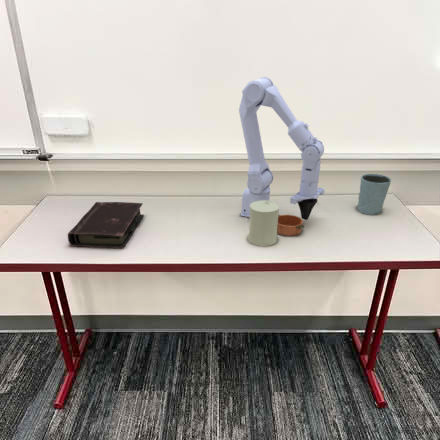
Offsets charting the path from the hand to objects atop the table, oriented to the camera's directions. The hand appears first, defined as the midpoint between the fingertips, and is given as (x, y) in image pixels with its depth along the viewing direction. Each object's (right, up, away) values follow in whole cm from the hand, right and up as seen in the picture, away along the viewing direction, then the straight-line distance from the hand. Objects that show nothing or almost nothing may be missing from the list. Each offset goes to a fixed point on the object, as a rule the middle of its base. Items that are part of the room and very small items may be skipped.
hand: (304, 218), depth 146 cm
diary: (-66, -5, -3) cm, 67 cm away
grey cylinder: (+26, +5, +11) cm, 29 cm away
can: (-15, -8, -9) cm, 20 cm away
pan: (-6, -4, -3) cm, 9 cm away
